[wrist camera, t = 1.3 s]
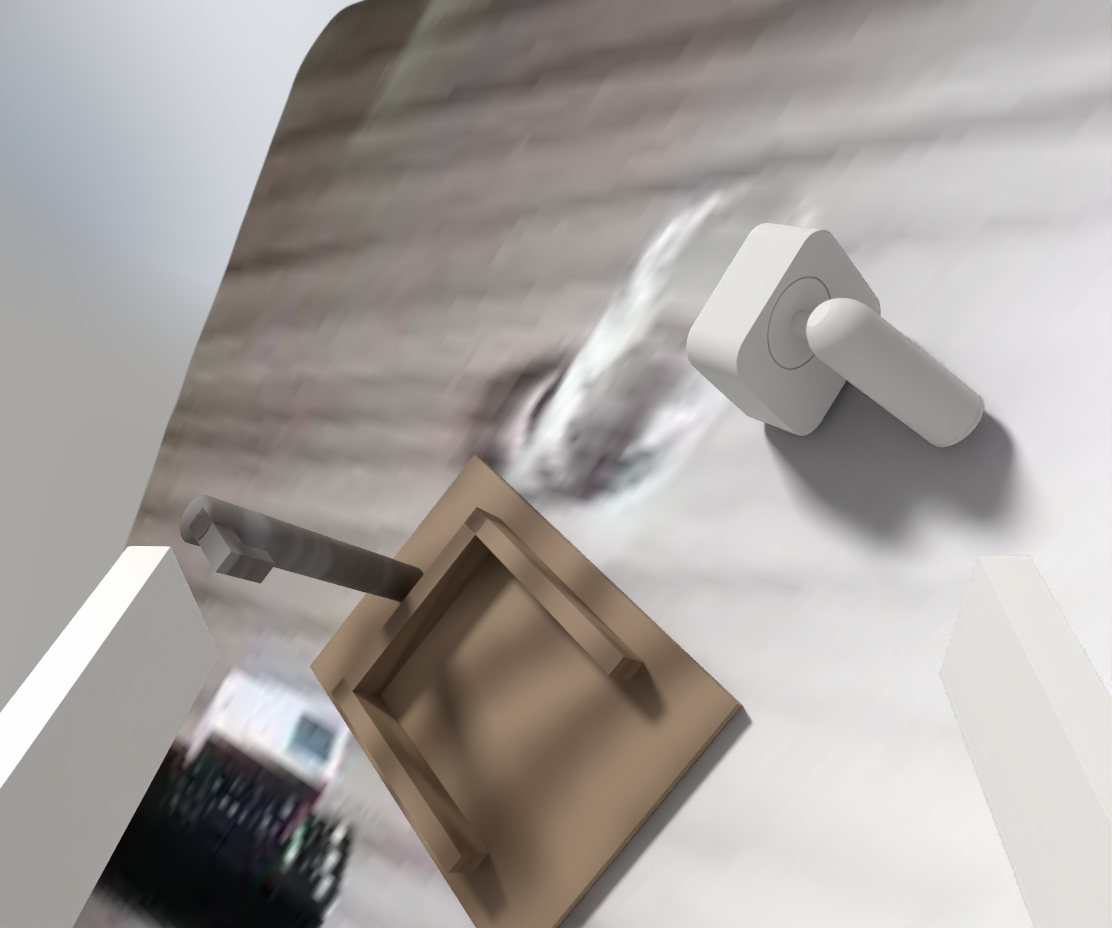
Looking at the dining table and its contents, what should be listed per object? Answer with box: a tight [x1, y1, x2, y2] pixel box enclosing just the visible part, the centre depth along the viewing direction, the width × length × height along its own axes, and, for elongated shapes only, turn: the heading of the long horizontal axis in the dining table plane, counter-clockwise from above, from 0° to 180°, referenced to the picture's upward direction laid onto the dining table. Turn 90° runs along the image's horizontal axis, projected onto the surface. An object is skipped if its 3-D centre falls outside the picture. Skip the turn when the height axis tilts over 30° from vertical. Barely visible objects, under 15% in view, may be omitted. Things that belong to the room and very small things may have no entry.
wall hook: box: [686, 223, 984, 447], centre depth 38 cm, size 8×10×10 cm
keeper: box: [180, 455, 742, 928], centre depth 40 cm, size 23×18×17 cm
